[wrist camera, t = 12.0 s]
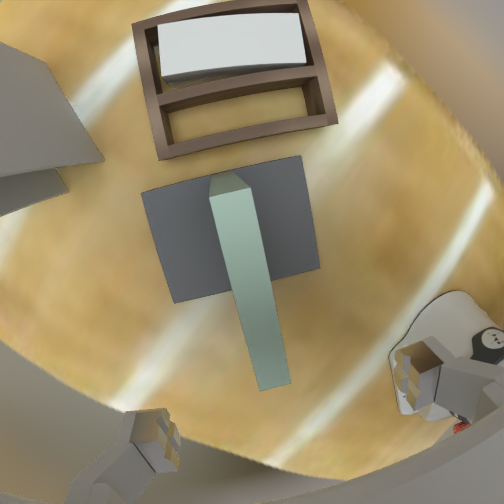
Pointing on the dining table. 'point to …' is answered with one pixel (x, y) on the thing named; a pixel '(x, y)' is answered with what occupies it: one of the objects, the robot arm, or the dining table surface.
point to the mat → (206, 236)
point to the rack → (233, 80)
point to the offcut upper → (230, 45)
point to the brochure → (36, 132)
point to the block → (249, 277)
